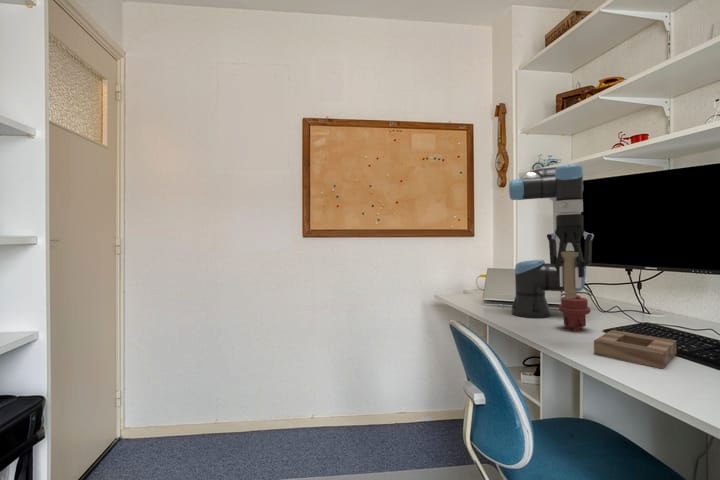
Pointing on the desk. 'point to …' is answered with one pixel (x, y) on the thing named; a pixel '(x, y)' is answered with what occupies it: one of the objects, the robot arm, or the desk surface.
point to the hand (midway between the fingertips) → (570, 286)
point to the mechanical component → (574, 312)
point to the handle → (569, 273)
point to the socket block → (636, 348)
